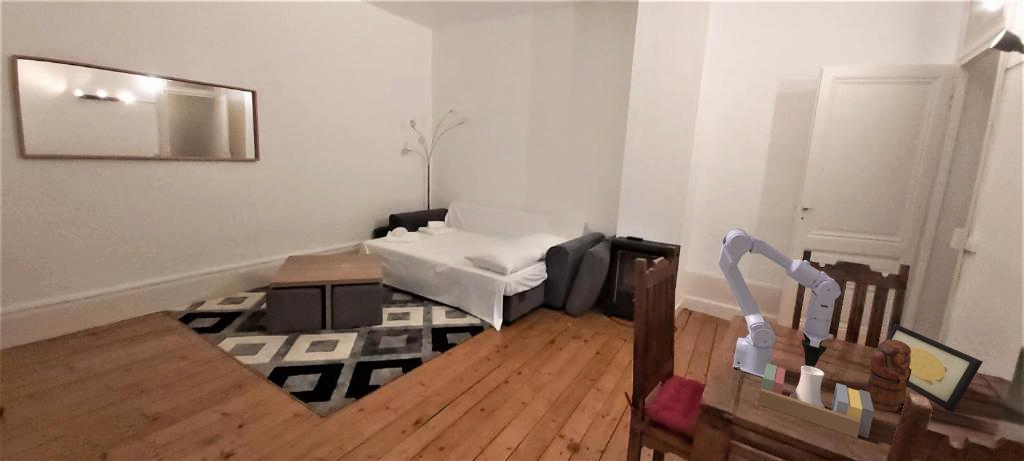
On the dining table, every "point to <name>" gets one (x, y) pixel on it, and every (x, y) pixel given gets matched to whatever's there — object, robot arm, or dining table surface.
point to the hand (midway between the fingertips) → (809, 361)
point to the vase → (809, 386)
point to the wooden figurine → (889, 375)
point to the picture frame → (936, 367)
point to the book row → (847, 408)
